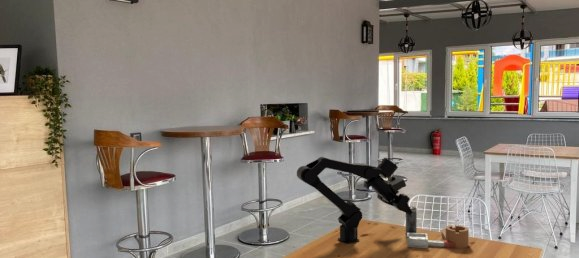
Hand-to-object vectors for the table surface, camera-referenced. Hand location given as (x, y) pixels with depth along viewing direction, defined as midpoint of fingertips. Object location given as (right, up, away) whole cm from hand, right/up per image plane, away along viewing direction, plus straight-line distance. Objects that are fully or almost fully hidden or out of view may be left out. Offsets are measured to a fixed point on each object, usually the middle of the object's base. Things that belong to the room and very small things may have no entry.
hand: (405, 210), depth 189 cm
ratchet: (+6, -11, -13) cm, 18 cm away
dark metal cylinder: (+3, -10, +1) cm, 11 cm away
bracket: (+17, -11, -8) cm, 22 cm away
